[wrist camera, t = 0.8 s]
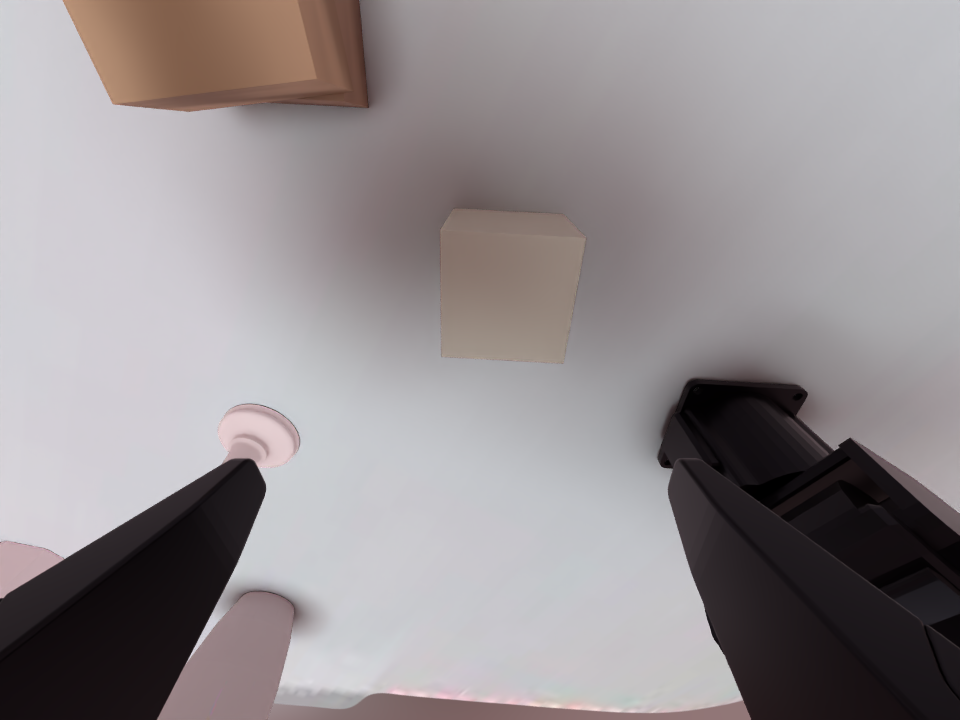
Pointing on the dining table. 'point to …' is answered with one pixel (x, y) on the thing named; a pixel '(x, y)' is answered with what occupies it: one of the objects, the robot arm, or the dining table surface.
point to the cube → (508, 284)
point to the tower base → (354, 51)
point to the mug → (22, 564)
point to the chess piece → (258, 435)
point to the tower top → (213, 51)
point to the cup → (236, 664)
